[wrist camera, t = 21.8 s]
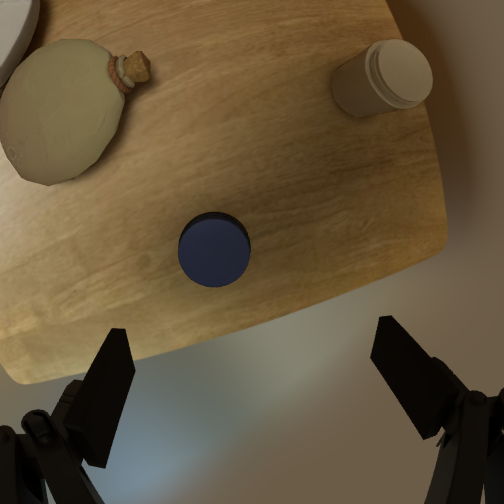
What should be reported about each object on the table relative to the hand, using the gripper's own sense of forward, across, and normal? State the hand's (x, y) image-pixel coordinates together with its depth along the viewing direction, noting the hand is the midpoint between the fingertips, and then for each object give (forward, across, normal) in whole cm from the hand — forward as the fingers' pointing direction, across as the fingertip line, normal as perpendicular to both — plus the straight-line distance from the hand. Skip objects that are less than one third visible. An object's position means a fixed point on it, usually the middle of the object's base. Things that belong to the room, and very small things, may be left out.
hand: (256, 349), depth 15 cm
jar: (+21, +14, +18) cm, 31 cm away
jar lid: (+18, -3, -1) cm, 18 cm away
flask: (+21, -17, +16) cm, 31 cm away
